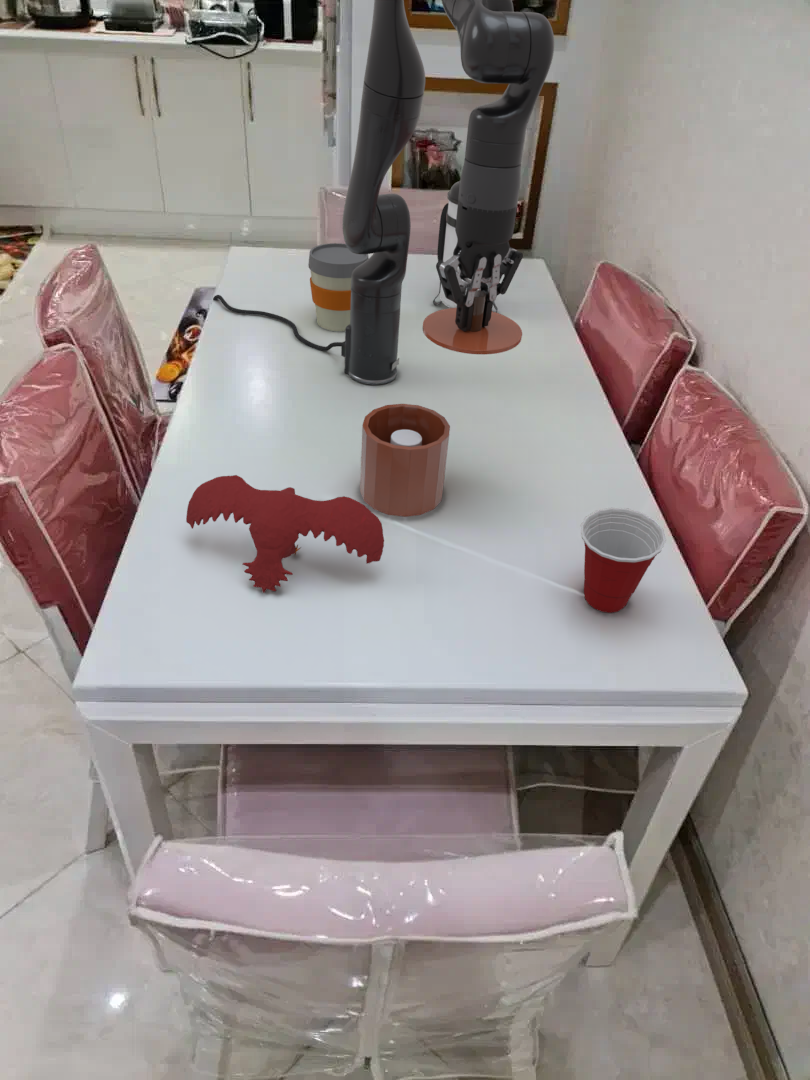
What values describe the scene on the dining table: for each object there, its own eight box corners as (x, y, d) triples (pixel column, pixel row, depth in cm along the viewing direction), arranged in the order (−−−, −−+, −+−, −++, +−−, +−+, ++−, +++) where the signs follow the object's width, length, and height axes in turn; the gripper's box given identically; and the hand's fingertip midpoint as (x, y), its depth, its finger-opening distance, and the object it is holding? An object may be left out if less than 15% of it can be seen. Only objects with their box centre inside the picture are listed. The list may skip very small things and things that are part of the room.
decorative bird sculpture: (373, 614, 112) (395, 508, 113) (362, 614, 103) (386, 499, 104) (182, 574, 116) (205, 472, 117) (155, 571, 107) (180, 460, 108)
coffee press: (505, 301, 190) (525, 165, 171) (488, 327, 178) (507, 184, 159) (434, 288, 194) (447, 153, 175) (413, 312, 182) (424, 170, 163)
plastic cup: (555, 572, 115) (572, 505, 107) (629, 572, 116) (650, 505, 108) (574, 627, 106) (593, 558, 99) (653, 626, 108) (678, 557, 100)
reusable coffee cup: (378, 321, 177) (381, 252, 167) (344, 340, 168) (346, 269, 159) (331, 305, 182) (332, 238, 172) (296, 323, 173) (295, 253, 164)
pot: (345, 501, 125) (346, 431, 117) (386, 462, 134) (390, 395, 126) (418, 529, 120) (425, 459, 113) (455, 487, 129) (464, 420, 122)
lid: (404, 341, 111) (407, 297, 107) (447, 307, 121) (452, 266, 117) (498, 368, 107) (505, 324, 103) (535, 330, 117) (542, 289, 113)
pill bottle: (416, 504, 124) (421, 450, 118) (380, 498, 125) (383, 443, 119) (423, 484, 129) (428, 430, 123) (388, 478, 129) (391, 424, 123)
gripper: (510, 184, 108) (492, 307, 119) (426, 196, 101) (416, 326, 112) (548, 200, 103) (526, 327, 114) (463, 214, 97) (449, 348, 108)
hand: (472, 326), depth 113 cm, fingers closed on lid, 2 cm apart
